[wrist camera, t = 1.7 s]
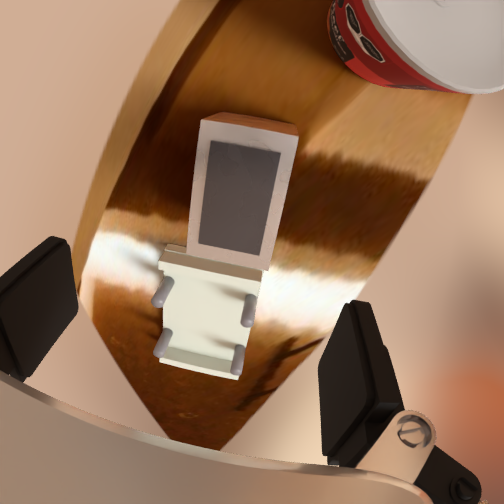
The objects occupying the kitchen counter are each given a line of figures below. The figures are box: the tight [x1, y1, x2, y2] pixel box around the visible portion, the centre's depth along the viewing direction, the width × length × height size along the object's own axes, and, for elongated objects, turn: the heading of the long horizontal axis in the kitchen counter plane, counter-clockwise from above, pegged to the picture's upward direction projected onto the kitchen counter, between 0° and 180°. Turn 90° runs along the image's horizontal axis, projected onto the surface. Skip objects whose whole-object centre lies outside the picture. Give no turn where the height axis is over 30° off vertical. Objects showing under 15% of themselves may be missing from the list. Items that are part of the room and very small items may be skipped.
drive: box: [186, 112, 299, 271], centre depth 20 cm, size 8×5×6 cm, turn 170°
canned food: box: [327, 0, 504, 94], centre depth 12 cm, size 8×8×11 cm
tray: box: [151, 243, 264, 380], centre depth 27 cm, size 12×8×4 cm, turn 170°
